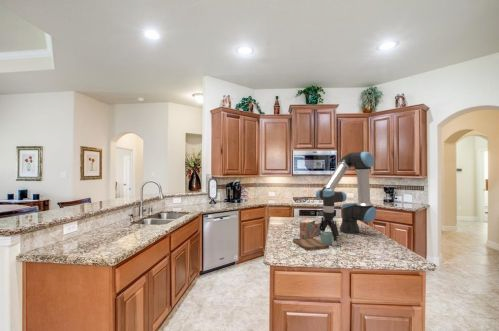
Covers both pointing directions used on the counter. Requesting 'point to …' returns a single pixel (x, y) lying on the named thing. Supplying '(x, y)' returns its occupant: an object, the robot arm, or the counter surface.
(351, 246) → the counter surface
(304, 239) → the board
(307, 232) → the stack of blocks
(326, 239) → the cube
